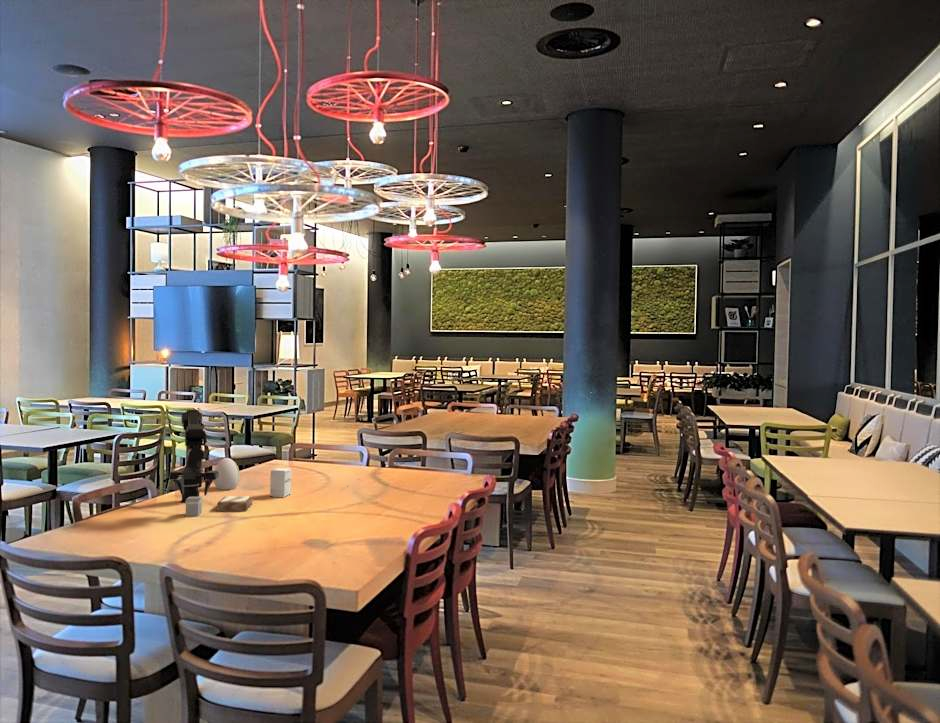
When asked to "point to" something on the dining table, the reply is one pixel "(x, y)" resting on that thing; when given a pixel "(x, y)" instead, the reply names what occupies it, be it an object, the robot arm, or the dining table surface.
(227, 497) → the stand
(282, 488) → the supplement box
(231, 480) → the decorative egg
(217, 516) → the dining table surface
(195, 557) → the dining table surface
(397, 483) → the dining table surface
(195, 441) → the robot arm
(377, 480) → the dining table surface
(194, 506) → the grey striped cube
